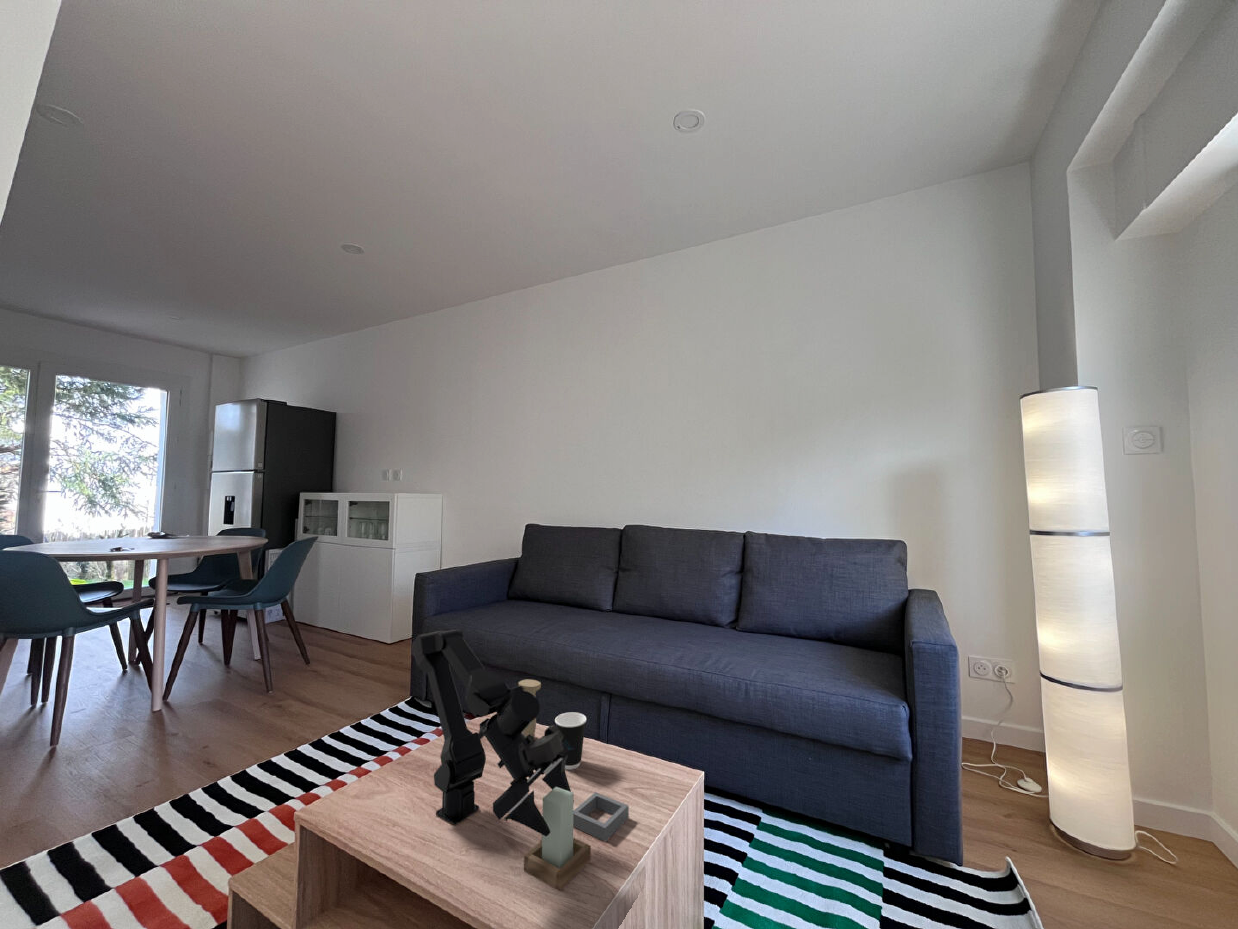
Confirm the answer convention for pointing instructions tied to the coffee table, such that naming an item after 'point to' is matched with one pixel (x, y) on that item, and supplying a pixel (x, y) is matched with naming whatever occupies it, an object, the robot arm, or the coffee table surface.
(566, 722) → the dixie cup
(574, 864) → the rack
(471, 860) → the coffee table surface
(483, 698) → the robot arm
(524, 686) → the handle
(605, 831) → the socket
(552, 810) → the peg
